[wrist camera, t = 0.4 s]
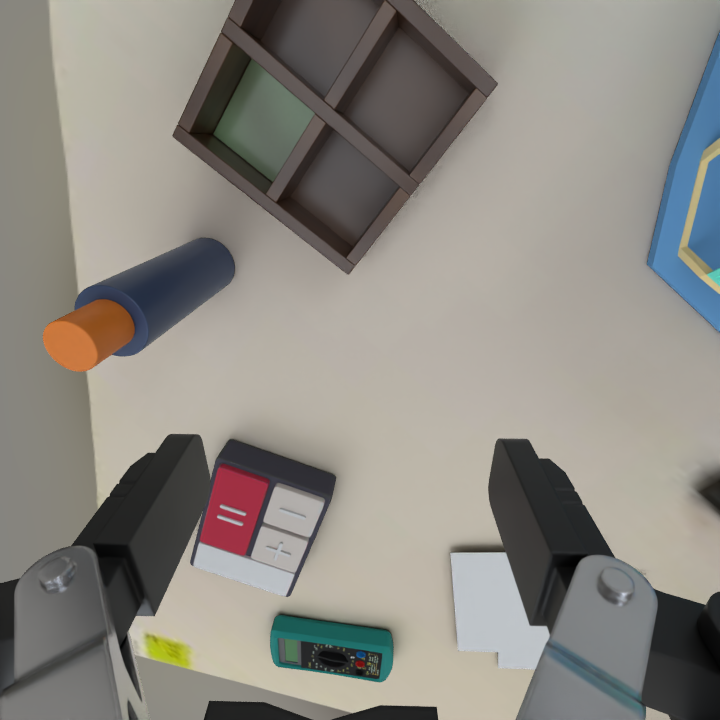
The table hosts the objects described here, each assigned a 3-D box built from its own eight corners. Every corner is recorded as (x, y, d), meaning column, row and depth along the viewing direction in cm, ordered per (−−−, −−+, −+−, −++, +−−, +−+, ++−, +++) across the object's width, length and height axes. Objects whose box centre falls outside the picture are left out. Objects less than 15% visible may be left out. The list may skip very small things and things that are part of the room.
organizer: (310, -81, 23) (291, -121, 20) (487, 91, 26) (498, 83, 22) (201, 136, 29) (171, 136, 25) (355, 260, 31) (348, 275, 28)
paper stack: (706, 545, 39) (711, 552, 39) (662, 692, 50) (665, 699, 50) (450, 547, 43) (450, 552, 43) (460, 683, 54) (461, 689, 54)
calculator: (331, 502, 38) (287, 605, 44) (338, 471, 42) (297, 569, 48) (212, 461, 37) (185, 571, 43) (231, 433, 41) (203, 538, 47)
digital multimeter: (390, 662, 54) (389, 688, 52) (277, 645, 56) (270, 669, 53) (395, 627, 51) (394, 653, 48) (274, 610, 52) (267, 634, 50)
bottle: (198, 226, 32) (41, 287, 18) (244, 260, 32) (125, 342, 19) (176, 267, 33) (17, 351, 20) (219, 299, 34) (94, 399, 21)
